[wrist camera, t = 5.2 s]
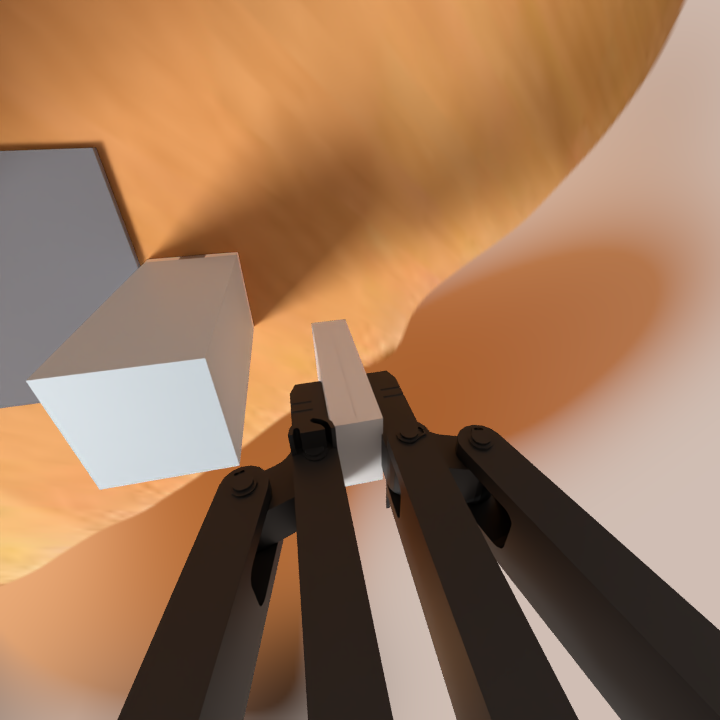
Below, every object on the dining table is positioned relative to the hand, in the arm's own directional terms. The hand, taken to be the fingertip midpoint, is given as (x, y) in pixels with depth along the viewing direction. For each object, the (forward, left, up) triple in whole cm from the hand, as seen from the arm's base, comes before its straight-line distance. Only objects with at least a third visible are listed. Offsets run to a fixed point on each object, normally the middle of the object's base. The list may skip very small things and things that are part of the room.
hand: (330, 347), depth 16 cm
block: (0, -7, -8) cm, 11 cm away
